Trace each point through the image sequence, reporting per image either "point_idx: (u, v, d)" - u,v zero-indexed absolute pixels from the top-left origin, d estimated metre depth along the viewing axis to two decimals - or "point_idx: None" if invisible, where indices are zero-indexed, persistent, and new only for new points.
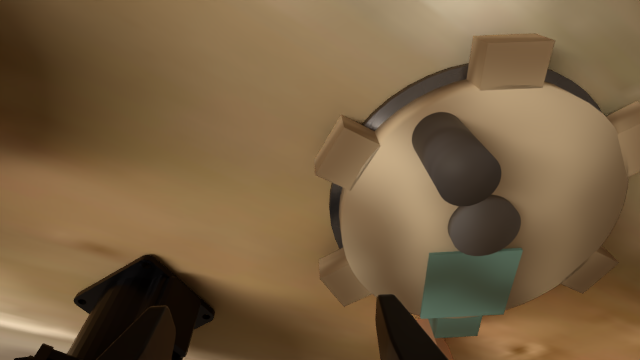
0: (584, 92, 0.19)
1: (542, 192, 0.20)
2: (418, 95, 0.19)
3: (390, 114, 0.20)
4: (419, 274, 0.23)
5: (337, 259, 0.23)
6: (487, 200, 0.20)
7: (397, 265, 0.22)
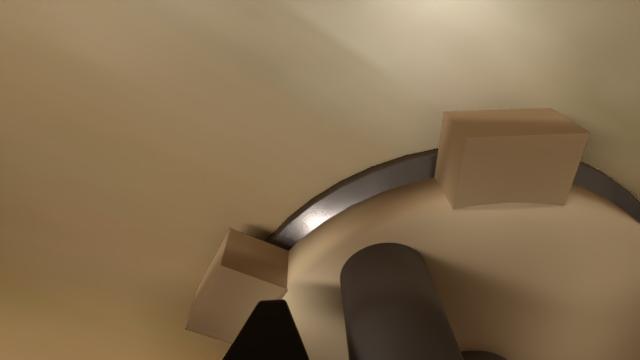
0: (627, 193, 0.12)
1: (557, 346, 0.13)
2: (356, 198, 0.12)
3: (313, 225, 0.12)
4: None
5: None
6: None
7: None
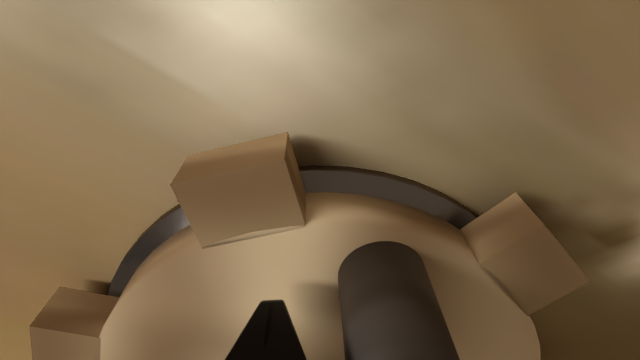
0: (467, 215, 0.12)
1: None
2: None
3: (162, 241, 0.12)
4: None
5: (88, 311, 0.12)
6: None
7: None
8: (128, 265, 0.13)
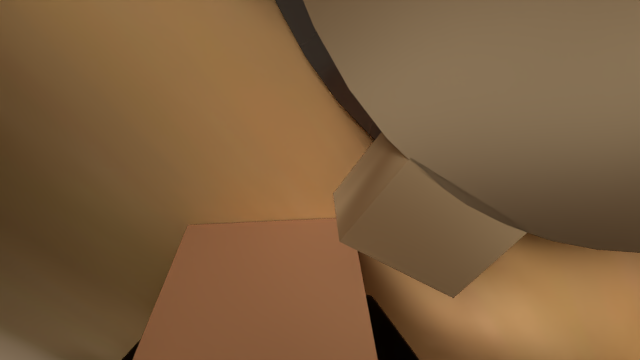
0: None
1: None
2: None
3: None
4: None
5: None
6: None
7: None
8: None
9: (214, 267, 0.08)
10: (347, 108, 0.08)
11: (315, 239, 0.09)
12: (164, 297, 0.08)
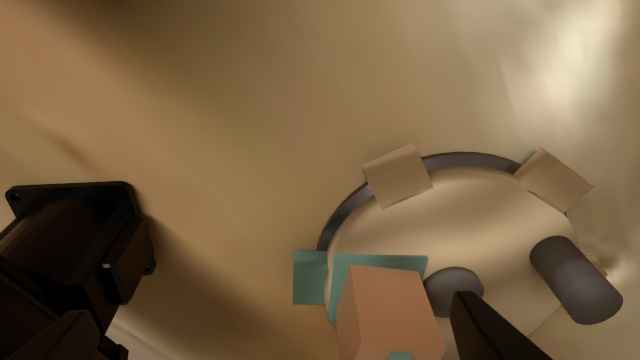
0: None
1: None
2: (461, 164, 0.21)
3: (431, 167, 0.21)
4: (399, 249, 0.22)
5: None
6: (482, 293, 0.23)
7: (417, 231, 0.21)
8: None
9: (341, 323, 0.22)
10: None
11: (347, 286, 0.22)
12: (339, 345, 0.22)
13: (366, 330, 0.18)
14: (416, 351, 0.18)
